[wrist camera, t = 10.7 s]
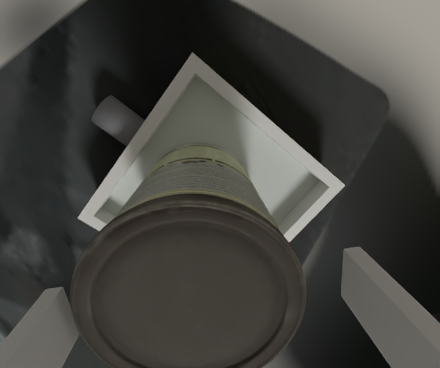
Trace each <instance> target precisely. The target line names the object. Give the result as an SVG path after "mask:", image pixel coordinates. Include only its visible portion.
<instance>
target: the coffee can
mask: <svg viewBox="0 0 440 368" xmlns="http://www.w3.org/2000/svg"><path fill="white" fill-rule="evenodd" d="M70 302H71V310H72V314H73V318H74V321H75V324H76V327H77V330H78V331H79V333H80V335H81V337H82V338H83V340H84V341H85V343H86V344H87V345H88V347H89V348H90V349H91V350H92V351H93V352H94V353H95V355H96V356H97V357H98V358H100V359H101V360H102V361H103V362H105V363H106V364H107V365H109V366H110V367H112V368H262V367H263V366H265V365H266V364H268V363H269V362H270V361H272V360H273V359H274V358H275V357H276V356H277V355H279V353H280V352H281V351H282V350H284V348H285V347H286V346H287V345H288V343H289V342H290V341H291V339H292V338H293V336H294V334H295V332H296V331H297V329H298V327H299V325H300V323H301V320H302V317H303V314H304V310H305V304H306V282H305V277H304V272H303V269H302V266H301V264H300V261H299V259H298V257H297V255H296V253H295V251H294V250H293V248H292V246H291V245H290V243H289V242H288V241H287V239H286V238H285V237H284V236H283V234H282V233H281V232H280V230H279V229H278V227H277V225H276V223H275V222H274V220H273V218H272V216H271V215H270V213H269V211H268V209H267V208H266V206H265V204H264V203H263V201H262V199H261V198H260V196H259V194H258V192H257V190H256V189H255V187H254V185H253V183H252V182H251V180H250V178H249V176H248V173H247V171H246V169H245V168H244V166H243V165H242V163H241V162H240V161H239V160H238V159H237V158H236V157H235V156H234V155H232V154H231V153H229V152H228V151H226V150H224V149H222V148H220V147H217V146H214V145H211V144H206V143H192V144H186V145H182V146H179V147H177V148H175V149H173V150H171V151H169V152H168V153H166V154H164V155H163V156H162V157H161V158H160V159H159V160H158V161H157V162H156V163H155V165H154V166H153V168H152V169H151V171H150V173H149V174H148V175H147V177H146V178H145V179H144V180H143V182H142V183H141V184H140V185H139V187H138V188H137V189H136V191H135V192H134V193H133V194H132V196H131V197H130V198H129V199H128V201H127V202H126V203H125V204H124V206H123V207H122V208H121V210H120V211H119V212H118V213H117V215H116V216H115V217H114V218H113V220H111V221H110V222H109V223H108V224H107V225H105V226H104V227H103V228H102V229H101V230H100V231H99V233H98V234H97V235H96V236H95V237H94V238H93V239H92V240H91V242H90V243H89V244H88V246H87V247H86V248H85V250H84V251H83V253H82V254H81V256H80V258H79V260H78V262H77V264H76V267H75V269H74V272H73V276H72V281H71V288H70Z"/></svg>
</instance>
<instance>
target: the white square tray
mask: <svg viewBox="0 0 440 368" xmlns="http://www.w3.org/2000/svg"><path fill="white" fill-rule="evenodd" d="M92 122H93V123H94V124H96V125H97V126H99V127H100V128H101V129H103V130H104V131H106V132H107V133H109V134H110V135H111V136H113V137H114V138H116V139H117V140H118V141H120V142H121V143H123V144H124V145H125V146H127V147H126V149H125V150H124V152H123V153H122V155H121V156H120V157H119V159H118V160H117V162H116V163H115V165H114V166H113V168H112V169H111V170H110V172H109V173H108V175H107V176H106V178H105V179H104V181H103V182H102V183H101V185H100V186H99V188H98V189H97V191H96V192H95V194H94V195H93V196H92V198H91V199H90V201H89V202H88V204H87V205H86V207H85V208H84V209H83V211H82V212H81V214H80V215H79V217H78V219H80V220H82V221H83V222H85V223H87V224H88V225H90V226H92V227H93V228H95V229H97V230H98V231H100V230H101V229H102V228H103V227H104V226H105V225H107V224H108V223H109V222H110V221H111V220H113V218H114V217H115V216H116V215H117V213H118V212H119V211H120V210H121V208H122V207H123V206H124V204H125V203H126V202H127V201H128V199H129V198H130V197H131V196H132V194H133V193H134V192H135V191H136V189H137V188H138V187H139V185H140V184H141V183H142V182H143V180H144V179H145V178H146V177H147V175H148V174H149V173H150V171H151V169H152V168H153V166H154V165H155V163H156V162H157V161H158V160H159V159H160V158H161V157H162V156H163V155H164V154H166V153H168V152H169V151H171V150H173V149H175V148H177V147H179V146H182V145H186V144H192V143H206V144H211V145H214V146H217V147H220V148H222V149H224V150H226V151H228V152H229V153H231V154H232V155H234V156H235V157H236V158H237V159H238V160H239V161H240V162H241V163H242V165H243V166H244V168H245V169H246V171H247V173H248V176H249V178H250V180H251V182H252V183H253V185H254V187H255V189H256V190H257V192H258V194H259V196H260V198H261V199H262V201H263V203H264V204H265V206H266V208H267V209H268V211H269V213H270V215H271V216H272V218H273V220H274V222H275V223H276V225H277V227H278V229H279V230H280V232H281V233H282V234H283V236H284V237H285V238H286V239H287V241H288V242H290V241H291V240H292V239H293V238H294V237H295V236H296V235H297V234H298V233H299V232H300V231H301V230H302V229H303V228H304V227H305V226H306V225H307V224H308V223H309V222H310V221H311V220H312V219H313V218H314V217H315V216H316V215H317V214H318V213H319V212H320V211H321V210H322V209H323V208H324V206H325V205H326V204H327V203H328V202H329V201H330V200H331V199H332V198H333V197H334V196H335V195H336V194H337V193H338V192H339V191H340V190H341V189H342V188H343V187H344V186H345V185H344V184H343V183H342V182H341V181H340V180H338V179H337V178H336V177H335V176H334V175H333V174H332V173H330V172H329V171H328V170H327V169H326V168H325V167H323V166H322V165H321V164H320V163H319V162H318V161H317V160H315V159H314V158H313V157H312V156H311V155H310V154H309V153H307V152H306V151H305V150H304V149H303V148H302V147H301V146H299V145H298V144H297V143H296V142H295V141H294V140H293V139H291V138H290V137H289V136H288V135H287V134H286V133H284V132H283V131H282V130H281V129H280V128H279V127H278V126H276V125H275V124H274V123H273V122H272V121H271V120H270V119H268V118H267V117H266V116H265V115H264V114H263V113H262V112H260V111H259V110H258V109H257V108H256V107H255V106H254V105H252V104H251V103H250V102H249V101H248V100H247V99H246V98H244V97H243V96H242V95H241V94H240V93H239V92H237V91H236V90H235V89H234V88H233V87H232V86H231V85H229V84H228V83H227V82H226V81H225V80H224V79H223V78H221V77H220V76H219V75H218V74H217V73H216V72H215V71H213V70H212V69H211V68H210V67H209V66H208V65H207V64H205V63H204V62H203V61H202V60H201V59H200V58H199V57H197V56H196V55H195V54H194V53H193V52H192V54H191V55H190V56H189V58H188V59H187V61H186V62H185V64H184V65H183V67H182V68H181V69H180V71H179V72H178V74H177V75H176V77H175V78H174V80H173V81H172V82H171V84H170V85H169V87H168V88H167V90H166V91H165V93H164V94H163V95H162V97H161V98H160V100H159V101H158V103H157V104H156V106H155V107H154V108H153V110H152V111H151V113H150V114H149V116H148V117H147V118H146V120H144V119H143V118H141V117H140V116H139V115H137V114H136V113H135V112H133V111H132V110H131V109H130V108H128V107H127V106H126V105H124V104H123V103H122V102H120V101H119V100H118V99H116V98H115V97H114V96H112V95H110V96H108V97H107V98H105V99H104V100H103V101H102V102H101V103H100V105H99V106H98V107H97V109H96V110H95V112H94V114H93V116H92Z"/></svg>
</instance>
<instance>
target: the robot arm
mask: <svg viewBox="0 0 440 368" xmlns="http://www.w3.org/2000/svg"><path fill="white" fill-rule="evenodd" d="M341 296H342V297H343V299H344V300H345V302H346V303H347V305H348V306H349V308H350V309H351V310H352V312H353V313H354V315H355V316H356V318H357V319H358V320H359V322H360V323H361V324H362V326H363V328H364V329H365V330H366V332H367V333H368V335H369V336H370V338H371V339H372V340H373V342H374V343H375V345H376V346H377V347H378V349H379V351H380V352H381V353H382V355H383V356H384V358H385V359H386V361H387V362H388V363H389V365H390V366H391V368H440V314H435V315H431V314H430V313H429V312H427V311H426V310H425V309H424V308H423V307H422V306H421V305H420V304H419V303H418V302H417V301H416V300H415V299H414V298H413V297H412V296H411V295H410V294H409V293H408V292H407V291H405V290H404V289H403V288H402V287H401V286H400V285H399V284H398V283H397V282H396V281H395V280H394V279H393V278H392V277H391V276H390V275H389V274H388V273H387V272H385V270H383V269H382V268H381V267H380V266H379V265H378V264H377V263H376V262H375V261H374V260H373V259H372V258H371V257H370V256H369V255H368V254H367V253H365V251H364V250H362V249H361V248H360V247H354V248H347V249H344V253H343V269H342V285H341ZM79 334H80V333H79V331H78V330H77V327H76V324H75V321H74V318H73V314H72V310H71V306H70V304H69V301H68V299H67V296H66V294H65V291H64V289H63V287H58V288H51V289H46V290H45V291H44V292H43V293H42V295H41V296H40V297H39V298H38V300H37V301H36V302H35V303H34V305H33V306H32V307H31V308H30V309H29V311H28V312H27V313H26V314H25V316H24V317H23V318H22V319H21V320H20V322H19V323H18V324H17V325H16V327H15V328H14V329H13V330H12V332H11V333H10V334H9V335H8V336H7V338H6V339H5V340H4V341H3V343H2V344H1V345H0V368H62V366H63V365H64V363H65V361H66V359H67V357H68V355H69V353H70V351H71V349H72V347H73V345H74V343H75V341H76V339H77V338H78V336H79Z"/></svg>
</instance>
